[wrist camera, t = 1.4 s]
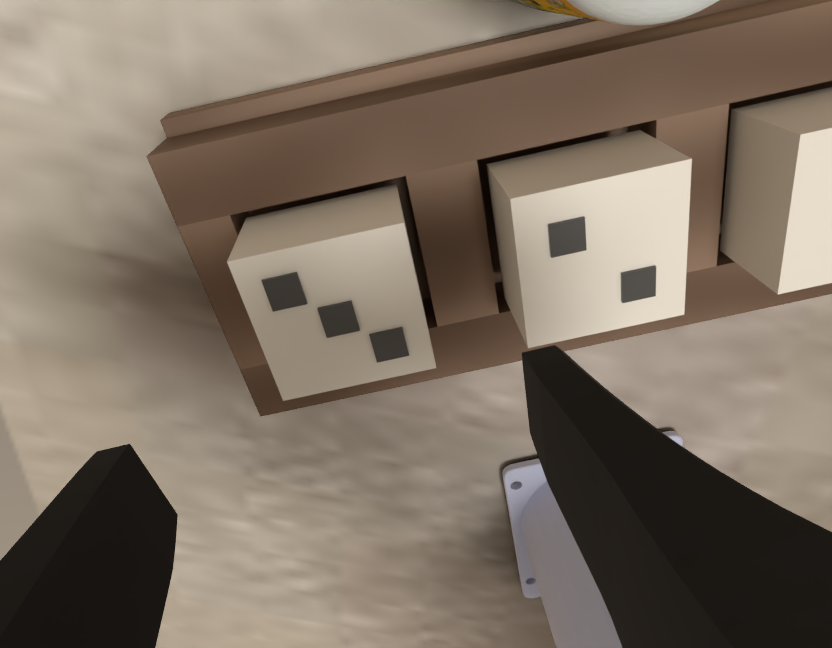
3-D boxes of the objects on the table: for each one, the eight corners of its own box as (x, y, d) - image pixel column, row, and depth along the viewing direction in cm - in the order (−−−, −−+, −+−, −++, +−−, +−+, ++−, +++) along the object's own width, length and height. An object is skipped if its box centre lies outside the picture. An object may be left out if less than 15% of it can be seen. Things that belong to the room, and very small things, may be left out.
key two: (639, 268, 19) (685, 315, 16) (504, 297, 19) (528, 350, 16) (639, 130, 17) (693, 159, 14) (486, 164, 17) (510, 200, 14)
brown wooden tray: (840, 253, 22) (903, 290, 20) (275, 376, 23) (265, 427, 20) (901, -54, 17) (997, -59, 15) (169, 113, 18) (138, 137, 15)
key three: (425, 314, 19) (436, 369, 16) (292, 343, 19) (283, 403, 17) (396, 184, 17) (404, 224, 14) (246, 217, 17) (226, 263, 14)
